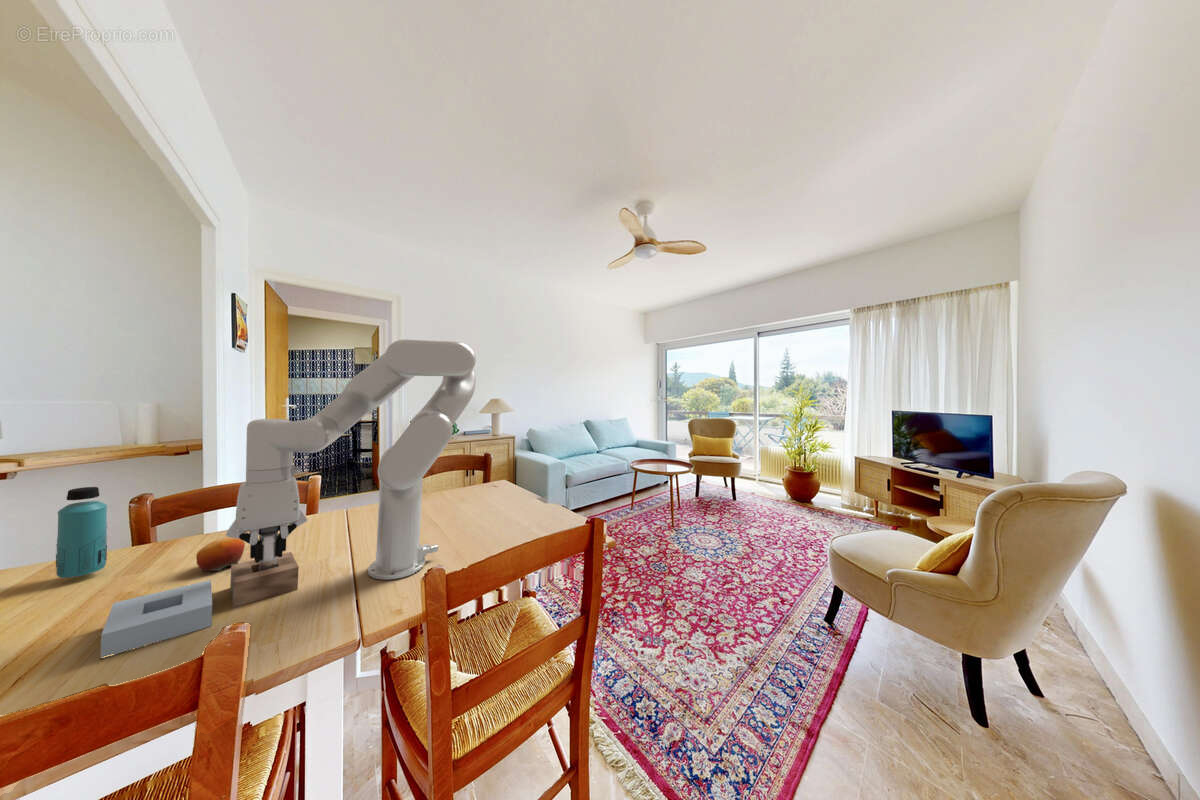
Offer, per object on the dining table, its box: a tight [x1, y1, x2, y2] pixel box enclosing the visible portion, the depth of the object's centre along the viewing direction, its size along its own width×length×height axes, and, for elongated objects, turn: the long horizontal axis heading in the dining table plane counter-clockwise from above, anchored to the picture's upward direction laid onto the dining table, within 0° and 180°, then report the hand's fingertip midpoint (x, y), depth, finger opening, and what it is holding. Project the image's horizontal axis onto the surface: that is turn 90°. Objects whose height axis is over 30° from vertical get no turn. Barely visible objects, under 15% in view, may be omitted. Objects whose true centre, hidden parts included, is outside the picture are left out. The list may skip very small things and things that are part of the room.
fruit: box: [196, 536, 246, 572], centre depth 87 cm, size 8×8×8 cm
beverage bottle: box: [54, 486, 108, 579], centre depth 79 cm, size 6×7×20 cm
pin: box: [258, 526, 280, 571], centre depth 79 cm, size 4×4×14 cm
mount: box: [229, 551, 299, 609], centre depth 78 cm, size 10×10×5 cm
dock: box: [99, 579, 213, 658], centre depth 65 cm, size 12×12×4 cm
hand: (268, 557), depth 79 cm, fingers closed on pin, 3 cm apart
